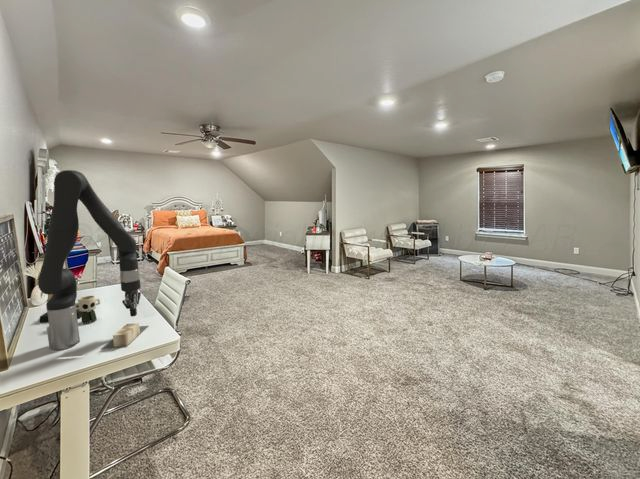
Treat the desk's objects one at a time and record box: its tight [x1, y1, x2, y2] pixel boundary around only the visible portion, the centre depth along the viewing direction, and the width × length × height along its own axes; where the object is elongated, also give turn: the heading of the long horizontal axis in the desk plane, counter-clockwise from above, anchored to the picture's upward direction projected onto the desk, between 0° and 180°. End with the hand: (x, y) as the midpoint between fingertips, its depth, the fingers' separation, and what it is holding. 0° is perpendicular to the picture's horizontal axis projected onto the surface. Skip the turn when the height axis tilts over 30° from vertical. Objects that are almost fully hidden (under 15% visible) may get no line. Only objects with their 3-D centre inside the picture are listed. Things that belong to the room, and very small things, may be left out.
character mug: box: [75, 295, 101, 324], centre depth 152 cm, size 11×7×13 cm, turn 141°
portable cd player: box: [38, 305, 83, 324], centre depth 162 cm, size 16×17×4 cm
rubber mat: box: [100, 325, 149, 350], centre depth 134 cm, size 10×22×1 cm, turn 7°
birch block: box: [112, 322, 141, 347], centre depth 131 cm, size 5×5×12 cm
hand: (133, 315), depth 137 cm, fingers closed
